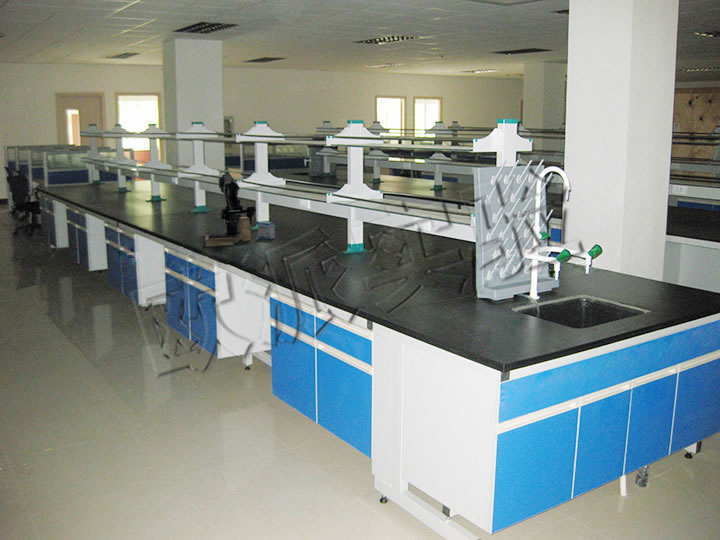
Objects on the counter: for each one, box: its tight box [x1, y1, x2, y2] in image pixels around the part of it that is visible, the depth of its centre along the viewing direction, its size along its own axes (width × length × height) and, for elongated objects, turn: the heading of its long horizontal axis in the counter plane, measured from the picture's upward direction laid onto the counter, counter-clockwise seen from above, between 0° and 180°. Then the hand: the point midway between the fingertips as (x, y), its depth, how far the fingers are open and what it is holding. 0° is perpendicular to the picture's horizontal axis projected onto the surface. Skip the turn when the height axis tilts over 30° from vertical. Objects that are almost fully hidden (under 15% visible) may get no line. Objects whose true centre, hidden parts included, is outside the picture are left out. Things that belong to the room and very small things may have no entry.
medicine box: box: [257, 221, 276, 240], centre depth 372 cm, size 8×4×9 cm, turn 62°
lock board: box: [204, 234, 235, 248], centre depth 361 cm, size 14×14×4 cm
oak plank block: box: [239, 216, 251, 242], centre depth 368 cm, size 4×4×12 cm
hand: (242, 225), depth 367 cm, fingers open, 9 cm apart
